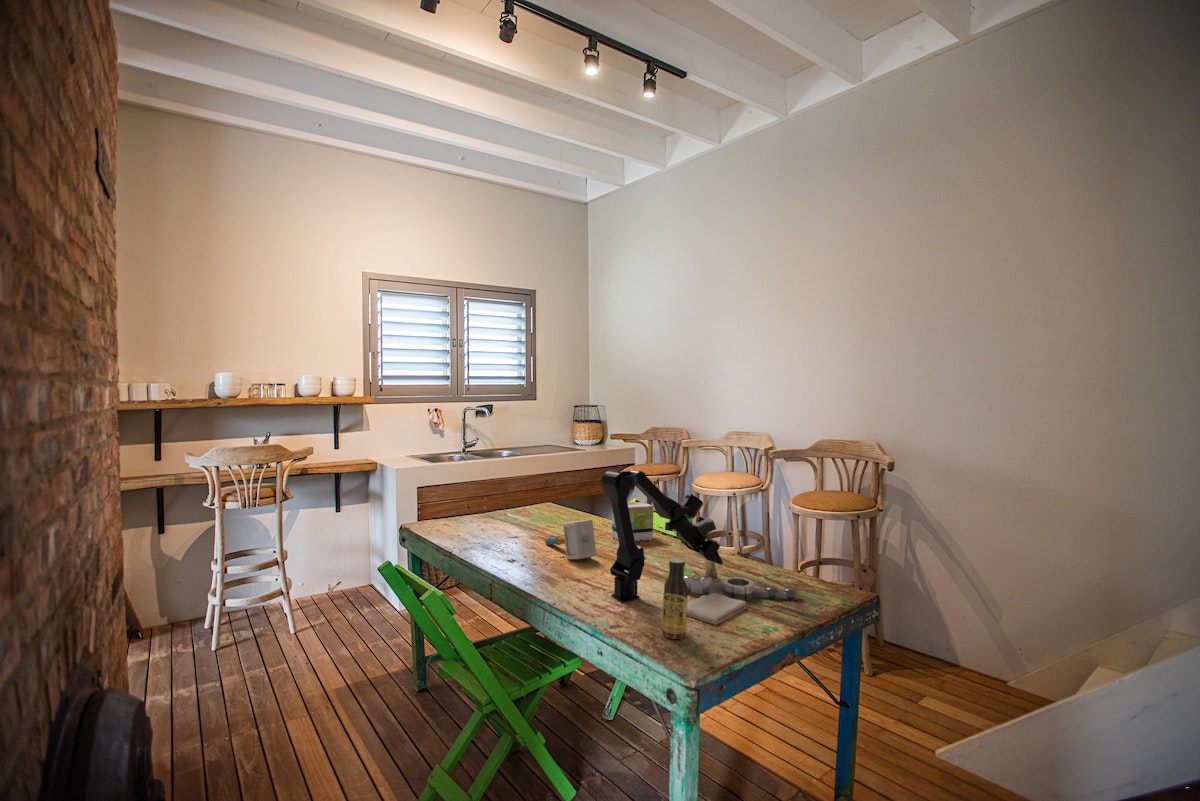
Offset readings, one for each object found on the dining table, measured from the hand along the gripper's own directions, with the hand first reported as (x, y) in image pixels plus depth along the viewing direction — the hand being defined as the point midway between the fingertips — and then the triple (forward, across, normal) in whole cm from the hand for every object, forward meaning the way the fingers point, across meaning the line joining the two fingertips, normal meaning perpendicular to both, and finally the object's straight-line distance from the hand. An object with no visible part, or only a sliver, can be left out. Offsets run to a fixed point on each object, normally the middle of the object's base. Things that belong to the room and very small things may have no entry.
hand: (715, 559), depth 197 cm
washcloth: (-4, -25, +15) cm, 29 cm away
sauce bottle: (-17, -37, +27) cm, 49 cm away
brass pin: (+4, 0, +6) cm, 7 cm away
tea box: (-2, +56, +11) cm, 57 cm away
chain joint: (+5, -15, +5) cm, 17 cm away
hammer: (-24, +44, +34) cm, 61 cm away
